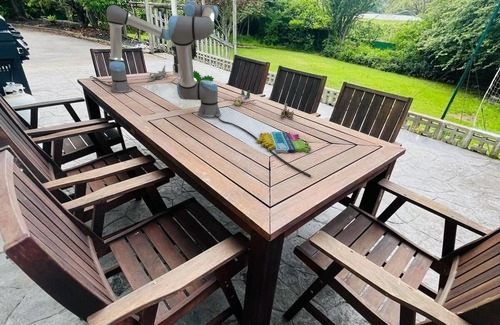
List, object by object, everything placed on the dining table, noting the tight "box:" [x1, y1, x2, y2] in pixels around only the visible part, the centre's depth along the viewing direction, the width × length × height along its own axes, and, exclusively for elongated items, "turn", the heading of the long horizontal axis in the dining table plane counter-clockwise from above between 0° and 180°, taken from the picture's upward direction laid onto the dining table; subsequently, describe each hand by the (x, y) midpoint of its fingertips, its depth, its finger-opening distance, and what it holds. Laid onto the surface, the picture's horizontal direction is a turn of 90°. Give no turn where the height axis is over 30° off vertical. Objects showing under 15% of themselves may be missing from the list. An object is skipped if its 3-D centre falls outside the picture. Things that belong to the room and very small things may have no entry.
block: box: [172, 63, 181, 78], centre depth 253 cm, size 7×6×10 cm
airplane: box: [145, 65, 172, 83], centre depth 274 cm, size 38×31×10 cm
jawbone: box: [280, 103, 295, 120], centre depth 192 cm, size 9×15×10 cm
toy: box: [223, 89, 257, 106], centre depth 219 cm, size 28×7×30 cm
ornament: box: [193, 69, 215, 83], centre depth 248 cm, size 21×8×15 cm, turn 105°
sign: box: [256, 131, 312, 154], centre depth 152 cm, size 26×2×30 cm
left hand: (177, 71), depth 253 cm, fingers closed on block, 6 cm apart
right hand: (193, 57), depth 197 cm, fingers open, 13 cm apart
